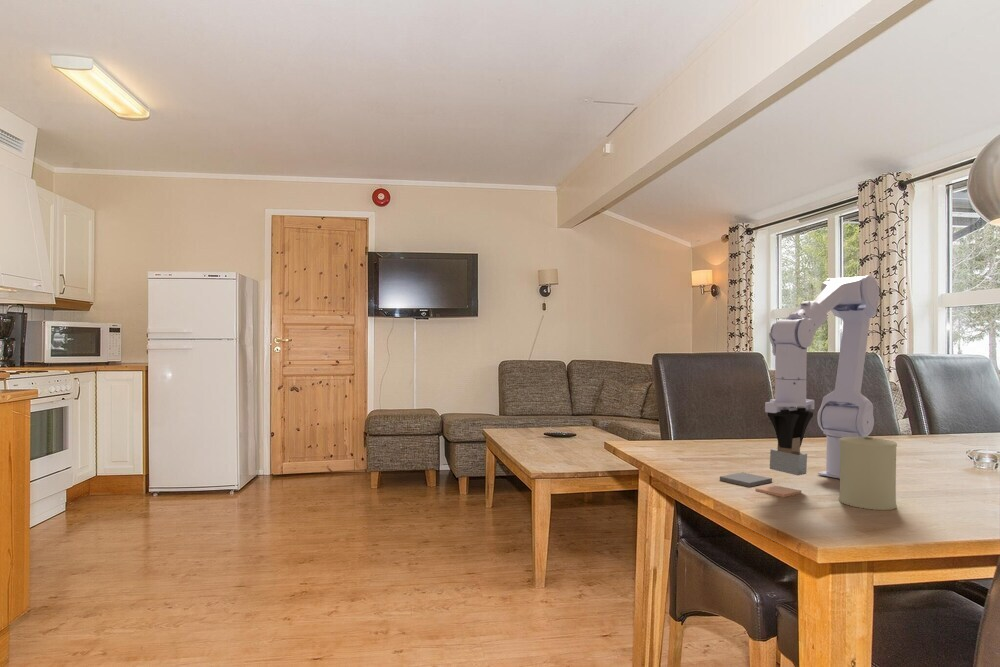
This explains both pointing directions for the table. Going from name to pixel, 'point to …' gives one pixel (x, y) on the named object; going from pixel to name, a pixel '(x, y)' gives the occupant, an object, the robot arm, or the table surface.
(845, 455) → the can
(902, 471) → the table surface
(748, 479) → the mat
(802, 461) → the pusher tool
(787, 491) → the tile
